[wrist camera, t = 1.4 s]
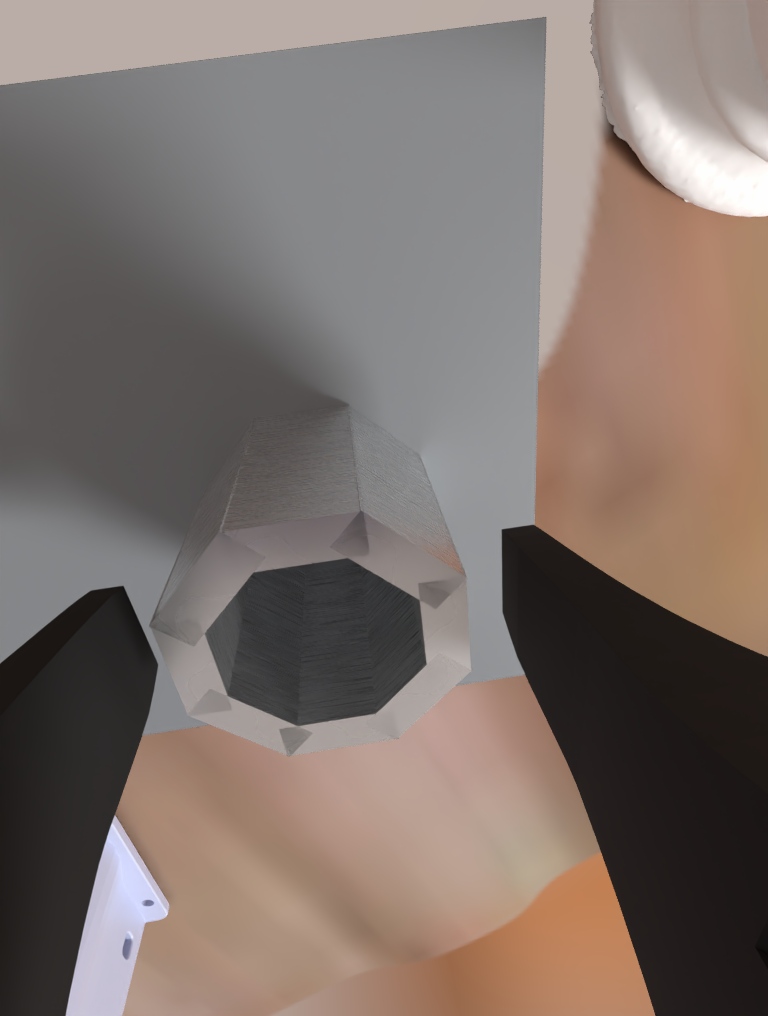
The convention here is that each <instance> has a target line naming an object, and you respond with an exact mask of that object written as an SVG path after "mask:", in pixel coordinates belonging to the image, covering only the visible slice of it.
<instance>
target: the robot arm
mask: <svg viewBox="0 0 768 1016" xmlns="http://www.w3.org/2000/svg"><path fill="white" fill-rule="evenodd" d="M502 612H503V615H504V619H505V622H506V625H507V628H508V631H509V634H510V637H511V640H512V643H513V646H514V649H515V652H516V655H517V658H518V660H519V662H520V664H521V667H522V669H523V671H524V673H525V675H526V677H527V679H528V681H529V684H530V686H531V688H532V690H533V692H534V694H535V696H536V698H537V700H538V703H539V705H540V707H541V709H542V711H543V713H544V715H545V717H546V719H547V721H548V723H549V726H550V728H551V730H552V732H553V734H554V736H555V738H556V740H557V742H558V744H559V746H560V749H561V751H562V753H563V755H564V757H565V759H566V761H567V763H568V766H569V768H570V770H571V773H572V775H573V777H574V780H575V782H576V784H577V787H578V789H579V792H580V795H581V798H582V800H583V803H584V806H585V809H586V811H587V814H588V817H589V820H590V822H591V825H592V828H593V830H594V833H595V836H596V839H597V841H598V844H599V847H600V850H601V853H602V856H603V859H604V861H605V864H606V867H607V870H608V873H609V876H610V879H611V881H612V884H613V887H614V890H615V893H616V896H617V899H618V902H619V905H620V907H621V910H622V914H623V916H624V920H625V922H626V926H627V929H628V932H629V935H630V938H631V941H632V944H633V947H634V949H635V953H636V956H637V959H638V962H639V965H640V968H641V971H642V974H643V977H644V980H645V983H646V987H647V990H648V993H649V996H650V999H651V1002H652V1006H653V1009H654V1012H655V1015H656V1016H768V657H767V656H764V655H762V654H759V653H757V652H754V651H752V650H750V649H748V648H745V647H743V646H741V645H738V644H736V643H734V642H732V641H729V640H727V639H725V638H723V637H721V636H719V635H717V634H715V633H713V632H711V631H708V630H706V629H704V628H702V627H700V626H698V625H696V624H694V623H692V622H690V621H688V620H686V619H684V618H682V617H680V616H678V615H676V614H674V613H672V612H670V611H669V610H667V609H665V608H663V607H661V606H660V605H658V604H656V603H654V602H653V601H651V600H649V599H647V598H646V597H644V596H642V595H640V594H639V593H637V592H635V591H633V590H632V589H630V588H628V587H627V586H625V585H624V584H622V583H620V582H619V581H617V580H615V579H614V578H612V577H611V576H609V575H607V574H606V573H604V572H603V571H601V570H600V569H598V568H597V567H595V566H594V565H592V564H591V563H589V562H588V561H586V560H585V559H583V558H582V557H580V556H579V555H577V554H576V553H574V552H573V551H571V550H570V549H568V548H567V547H566V546H564V545H563V544H561V543H560V542H558V541H557V540H555V539H554V538H553V537H551V536H550V535H548V534H547V533H545V532H544V531H542V530H541V529H539V528H538V527H536V526H535V525H527V526H520V527H514V528H507V529H502ZM157 670H158V663H157V660H156V658H155V656H154V653H153V651H152V649H151V647H150V644H149V642H148V640H147V638H146V635H145V633H144V631H143V629H142V626H141V624H140V622H139V620H138V617H137V615H136V613H135V610H134V608H133V606H132V604H131V601H130V599H129V597H128V595H127V592H126V590H125V588H124V586H117V587H111V588H104V589H97V590H91V591H90V592H88V593H87V594H85V595H84V596H82V597H81V598H80V599H78V600H77V601H76V602H74V603H73V604H72V605H70V606H69V607H68V608H67V609H65V610H64V611H63V612H62V613H60V614H59V615H58V616H57V617H56V618H54V619H53V620H52V621H51V622H50V623H48V624H47V625H46V626H45V627H43V628H42V629H41V630H40V631H39V632H37V633H36V634H35V635H34V636H33V637H31V638H30V639H29V640H28V641H27V642H25V643H24V644H23V645H22V646H21V647H19V648H18V649H17V650H16V651H15V652H13V653H12V654H11V655H10V656H8V657H7V658H6V659H5V660H4V661H2V662H1V663H0V1016H122V1014H123V1010H124V1006H125V1002H126V998H127V994H128V990H129V986H130V982H131V978H132V974H133V970H134V966H135V962H136V958H137V954H138V950H139V946H140V942H141V938H142V933H143V929H144V925H145V922H150V921H156V920H161V919H163V918H165V917H166V916H167V914H168V910H169V903H168V902H167V900H166V898H165V897H164V895H163V893H162V892H161V890H160V888H159V887H158V885H157V883H156V882H155V880H154V879H153V877H152V875H151V874H150V872H149V870H148V869H147V867H146V865H145V864H144V862H143V860H142V859H141V857H140V855H139V854H138V852H137V850H136V849H135V847H134V845H133V844H132V842H131V841H130V839H129V837H128V836H127V834H126V832H125V831H124V829H123V827H122V826H121V824H120V822H119V821H118V819H117V817H116V816H115V813H116V810H117V807H118V804H119V801H120V798H121V795H122V793H123V790H124V787H125V784H126V781H127V778H128V775H129V772H130V769H131V767H132V764H133V761H134V758H135V755H136V752H137V749H138V746H139V743H140V740H141V737H142V734H143V731H144V728H145V725H146V722H147V719H148V716H149V712H150V707H151V702H152V697H153V693H154V687H155V681H156V676H157Z"/></svg>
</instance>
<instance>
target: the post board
mask: <svg viewBox="0 0 768 1016" xmlns="http://www.w3.org/2000/svg"><path fill="white" fill-rule="evenodd" d="M545 52H546V17H543V18H535V19H527V20H519V21H512V22H503V23H495V24H487V25H479V26H471V27H463V28H455V29H447V30H440V31H431V32H423V33H415V34H407V35H400V36H391V37H383V38H375V39H367V40H359V41H351V42H343V43H336V44H328V45H319V46H311V47H303V48H296V49H288V50H280V51H272V52H264V53H256V54H248V55H240V56H232V57H225V58H217V59H209V60H200V61H192V62H184V63H176V64H168V65H160V66H153V67H144V68H136V69H128V70H120V71H112V72H105V73H96V74H88V75H81V76H72V77H65V78H57V79H48V80H40V81H32V82H25V83H17V84H9V85H1V86H0V663H1V662H2V661H4V660H5V659H6V658H7V657H8V656H10V655H11V654H12V653H13V652H15V651H16V650H17V649H18V648H19V647H21V646H22V645H23V644H24V643H25V642H27V641H28V640H29V639H30V638H31V637H33V636H34V635H35V634H36V633H37V632H39V631H40V630H41V629H42V628H43V627H45V626H46V625H47V624H48V623H50V622H51V621H52V620H53V619H54V618H56V617H57V616H58V615H59V614H60V613H62V612H63V611H64V610H65V609H67V608H68V607H69V606H70V605H72V604H73V603H74V602H76V601H77V600H78V599H80V598H81V597H82V596H84V595H85V594H87V593H88V592H90V591H91V590H97V589H104V588H111V587H117V586H124V588H125V590H126V592H127V595H128V597H129V599H130V601H131V604H132V606H133V608H134V610H135V613H136V615H137V617H138V620H139V622H140V624H141V626H142V629H143V631H144V633H145V635H146V638H147V640H148V642H149V644H150V647H151V649H152V651H153V653H154V656H155V658H156V660H157V663H158V670H157V676H156V681H155V687H154V693H153V697H152V702H151V707H150V712H149V716H148V719H147V722H146V725H145V728H144V731H143V734H142V736H143V735H149V734H155V733H161V732H168V731H174V730H180V729H187V728H193V727H199V726H206V725H210V724H207V723H205V722H202V721H200V720H197V719H195V718H192V717H189V716H188V715H187V712H186V709H185V707H184V705H183V702H182V700H181V698H180V695H179V693H178V691H177V688H176V686H175V684H174V681H173V679H172V677H171V674H170V672H169V670H168V667H167V665H166V663H165V660H164V658H163V656H162V653H161V651H160V649H159V646H158V644H157V642H156V639H155V637H154V635H153V632H152V630H151V628H150V627H149V624H150V621H151V619H152V617H153V614H154V612H155V609H156V607H157V605H158V602H159V600H160V597H161V595H162V592H163V590H164V588H165V585H166V583H167V580H168V578H169V575H170V573H171V571H172V568H173V566H174V563H175V561H176V558H177V556H178V554H179V551H180V549H181V546H182V544H183V542H184V539H185V537H186V534H187V532H188V529H189V527H190V525H191V522H192V520H193V517H194V515H195V512H196V510H197V508H198V505H199V503H200V500H201V498H202V496H203V493H204V491H205V488H206V486H208V484H209V483H210V481H211V480H212V478H213V477H214V476H215V474H216V473H217V471H218V470H219V469H220V467H221V466H222V464H223V463H224V461H225V460H226V459H227V457H228V456H229V454H230V453H231V451H232V450H233V449H234V447H235V446H236V444H237V443H238V442H239V440H240V439H241V437H242V436H243V434H244V433H245V432H246V430H247V429H248V427H249V426H250V424H251V423H252V422H253V420H254V418H255V417H256V418H259V417H266V416H273V415H280V414H287V413H294V412H301V411H308V410H315V409H321V408H328V407H335V406H342V405H347V404H348V405H349V404H350V406H351V407H353V408H354V409H355V410H357V411H358V412H360V413H361V414H362V415H364V416H365V417H367V418H368V419H369V420H371V421H372V422H374V423H375V424H376V425H378V426H379V427H381V428H382V429H383V430H385V431H386V432H388V433H389V434H390V435H392V436H393V437H395V438H396V439H397V440H399V441H400V442H402V443H403V444H404V445H406V446H407V447H409V448H410V449H411V450H413V451H414V452H416V453H417V454H418V455H420V456H421V459H422V461H423V464H424V467H425V469H426V472H427V474H428V477H429V480H430V482H431V485H432V487H433V490H434V493H435V495H436V498H437V500H438V503H439V506H440V508H441V511H442V513H443V516H444V519H445V521H446V524H447V526H448V529H449V532H450V534H451V537H452V539H453V542H454V545H455V547H456V550H457V552H458V555H459V558H460V560H461V563H462V565H463V568H464V571H465V573H466V576H467V579H466V583H467V602H468V622H469V641H470V660H471V669H472V671H471V672H470V673H468V674H467V675H466V676H465V677H464V678H463V679H462V680H461V681H460V682H459V683H458V684H457V685H455V686H458V685H464V684H470V683H477V682H483V681H489V680H495V679H502V678H508V677H514V676H521V675H525V673H524V671H523V669H522V667H521V664H520V662H519V660H518V658H517V655H516V652H515V649H514V646H513V643H512V640H511V637H510V634H509V631H508V628H507V625H506V622H505V619H504V615H503V612H502V529H507V528H514V527H520V526H527V525H535V483H536V440H537V397H538V354H539V311H540V310H539V309H540V268H541V225H542V182H543V180H542V179H543V138H544V94H545ZM351 564H357V563H356V562H354V561H352V560H350V559H349V558H345V559H339V560H332V561H325V562H319V563H312V564H306V565H299V566H296V567H298V568H300V569H302V570H304V571H311V570H318V569H324V568H331V567H337V566H344V565H351Z"/></svg>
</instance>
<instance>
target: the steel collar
mask: <svg viewBox="0 0 768 1016" xmlns="http://www.w3.org/2000/svg"><path fill="white" fill-rule="evenodd" d="M345 558H349V559H350V560H352V561H354V562H356V563H357V564H351V565H344V566H337V567H331V568H324V569H318V570H311V571H304V570H302V569H300V568H298V567H296V566H299V565H306V564H312V563H319V562H325V561H332V560H339V559H345ZM466 579H467V576H466V573H465V571H464V568H463V565H462V563H461V560H460V558H459V555H458V552H457V550H456V547H455V545H454V542H453V539H452V537H451V534H450V532H449V529H448V526H447V524H446V521H445V519H444V516H443V513H442V511H441V508H440V506H439V503H438V500H437V498H436V495H435V493H434V490H433V487H432V485H431V482H430V480H429V477H428V474H427V472H426V469H425V467H424V464H423V461H422V459H421V456H420V455H418V454H417V453H416V452H414V451H413V450H411V449H410V448H409V447H407V446H406V445H404V444H403V443H402V442H400V441H399V440H397V439H396V438H395V437H393V436H392V435H390V434H389V433H388V432H386V431H385V430H383V429H382V428H381V427H379V426H378V425H376V424H375V423H374V422H372V421H371V420H369V419H368V418H367V417H365V416H364V415H362V414H361V413H360V412H358V411H357V410H355V409H354V408H353V407H351V406H350V404H349V405H348V404H347V405H342V406H335V407H328V408H321V409H315V410H308V411H301V412H294V413H287V414H280V415H273V416H266V417H259V418H256V417H255V418H254V420H253V422H252V423H251V424H250V426H249V427H248V429H247V430H246V432H245V433H244V434H243V436H242V437H241V439H240V440H239V442H238V443H237V444H236V446H235V447H234V449H233V450H232V451H231V453H230V454H229V456H228V457H227V459H226V460H225V461H224V463H223V464H222V466H221V467H220V469H219V470H218V471H217V473H216V474H215V476H214V477H213V478H212V480H211V481H210V483H209V484H208V486H206V488H205V491H204V493H203V496H202V498H201V500H200V503H199V505H198V508H197V510H196V512H195V515H194V517H193V520H192V522H191V525H190V527H189V529H188V532H187V534H186V537H185V539H184V542H183V544H182V546H181V549H180V551H179V554H178V556H177V558H176V561H175V563H174V566H173V568H172V571H171V573H170V575H169V578H168V580H167V583H166V585H165V588H164V590H163V592H162V595H161V597H160V600H159V602H158V605H157V607H156V609H155V612H154V614H153V617H152V619H151V621H150V624H149V627H150V628H151V630H152V632H153V635H154V637H155V639H156V642H157V644H158V646H159V649H160V651H161V653H162V656H163V658H164V660H165V663H166V665H167V667H168V670H169V672H170V674H171V677H172V679H173V681H174V684H175V686H176V688H177V691H178V693H179V695H180V698H181V700H182V702H183V705H184V707H185V709H186V712H187V715H188V716H189V717H192V718H195V719H197V720H200V721H202V722H205V723H207V724H210V725H212V726H215V727H217V728H220V729H222V730H225V731H227V732H230V733H232V734H235V735H237V736H240V737H242V738H245V739H247V740H250V741H252V742H255V743H257V744H260V745H262V746H265V747H267V748H269V749H272V750H274V751H277V752H279V753H282V754H284V755H287V756H289V757H290V756H293V755H300V754H306V753H312V752H318V751H324V750H331V749H337V748H343V747H349V746H356V745H362V744H368V743H374V742H380V741H387V740H393V739H399V737H400V736H401V735H402V734H403V733H404V732H406V731H407V730H408V729H409V728H410V727H411V726H412V725H413V724H414V723H415V722H416V721H417V720H419V719H420V718H421V717H422V716H423V715H424V714H425V713H426V712H427V711H428V710H429V709H431V708H432V707H433V706H434V705H435V704H436V703H437V702H438V701H439V700H440V699H441V698H442V697H444V696H445V695H446V694H447V693H448V692H449V691H450V690H451V689H452V688H453V687H454V686H455V685H457V684H458V683H459V682H460V681H461V680H462V679H463V678H464V677H465V676H466V675H467V674H468V673H470V672H471V671H472V669H471V660H470V641H469V622H468V602H467V583H466Z"/></svg>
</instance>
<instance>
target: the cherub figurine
mask: <svg viewBox="0 0 768 1016" xmlns="http://www.w3.org/2000/svg"><path fill="white" fill-rule="evenodd" d="M590 23H592V27H591V30H592V32H593V33H592V36H591V44H593V50H592V51H591V54H592V56H593V58H594V62H595V65H596V67H597V70H598V75H599V80H600V86H599V87H600V90H604V94H603V95H602V96H601V98H603V104H602V106H604V107H605V108H606V116H607V120H608V122H609V123H610V124H612V125H614V130H613V131H614V132H615V133H616V135H617V136H618V137H619V138H621V139H623V140H625V141H626V142H627V143H628V144H629V147H631V148H632V150H633V151H634V152H635V153H636V155H637V156H638V158H639V160H640V161H641V163H642V164H643V166H644V167H645V168H646V169H647V170H648V171H649V172H650V173H651V174H652V175H653V176H654V177H655V178H656V179H657V180H658V181H659V182H660V183H661V184H662V185H663V186H664V187H665V188H667V189H669V190H671V191H672V192H673V193H675V194H676V195H678V196H680V197H681V198H683V199H684V201H686V202H690V203H692V204H694V205H696V206H699V207H702V208H704V209H708V210H712V211H715V212H718V213H722V214H728V215H734V216H746V217H752V216H758V217H763V216H768V0H594V12H593V13H592V15H591V21H590Z"/></svg>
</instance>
